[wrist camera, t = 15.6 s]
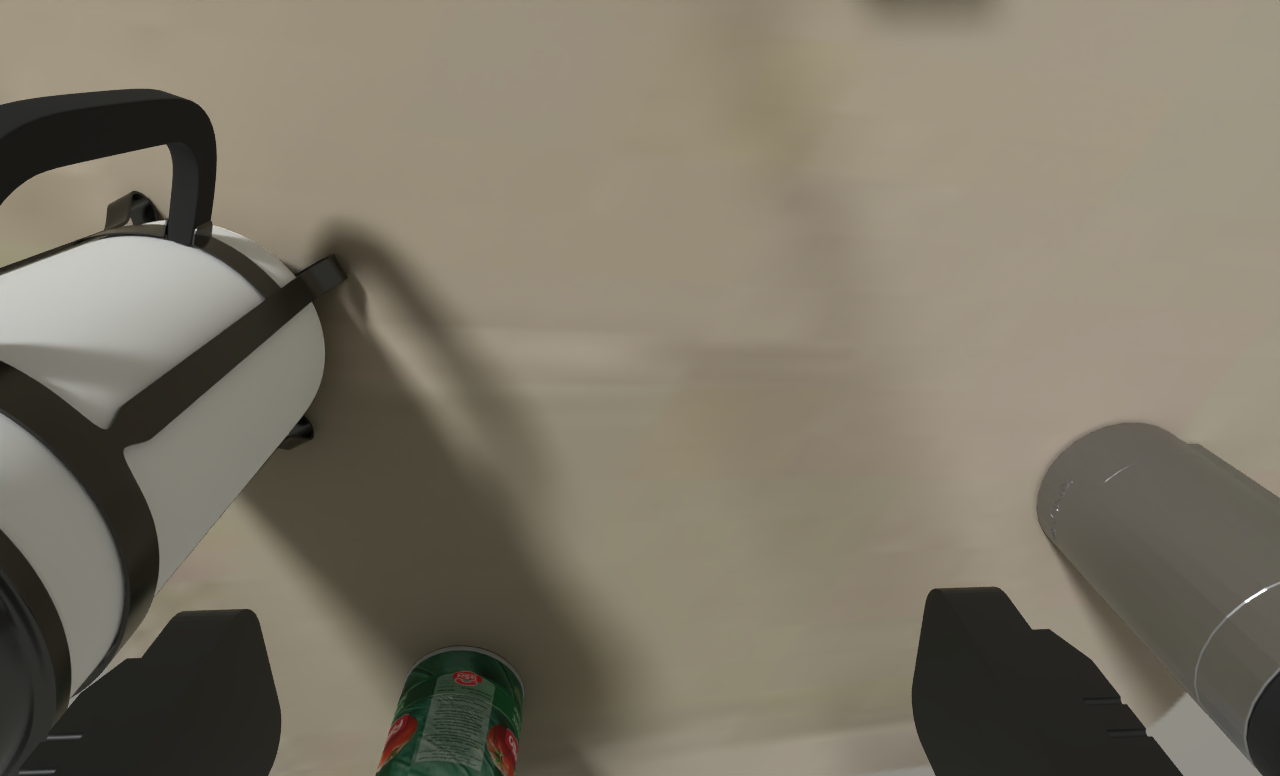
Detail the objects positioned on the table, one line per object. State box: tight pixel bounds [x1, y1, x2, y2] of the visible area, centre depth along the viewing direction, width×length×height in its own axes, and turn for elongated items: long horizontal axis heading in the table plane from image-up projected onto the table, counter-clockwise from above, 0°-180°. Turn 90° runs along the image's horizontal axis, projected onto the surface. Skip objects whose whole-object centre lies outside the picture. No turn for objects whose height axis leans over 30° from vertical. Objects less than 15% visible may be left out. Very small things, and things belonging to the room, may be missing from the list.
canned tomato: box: [376, 646, 525, 776], centre depth 47 cm, size 8×8×11 cm
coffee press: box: [0, 89, 348, 776], centre depth 28 cm, size 17×16×30 cm
